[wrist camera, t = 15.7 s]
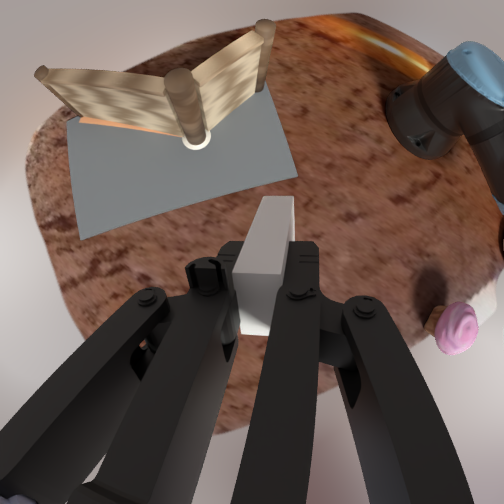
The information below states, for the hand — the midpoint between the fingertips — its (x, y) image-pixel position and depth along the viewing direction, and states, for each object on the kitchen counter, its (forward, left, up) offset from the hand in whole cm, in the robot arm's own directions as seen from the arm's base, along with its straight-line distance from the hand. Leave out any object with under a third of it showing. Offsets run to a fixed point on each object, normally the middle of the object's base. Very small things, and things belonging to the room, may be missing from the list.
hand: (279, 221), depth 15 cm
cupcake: (-28, +23, -28) cm, 45 cm away
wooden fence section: (-2, -21, -27) cm, 34 cm away
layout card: (+8, -18, -27) cm, 34 cm away
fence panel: (+14, -24, -27) cm, 39 cm away
